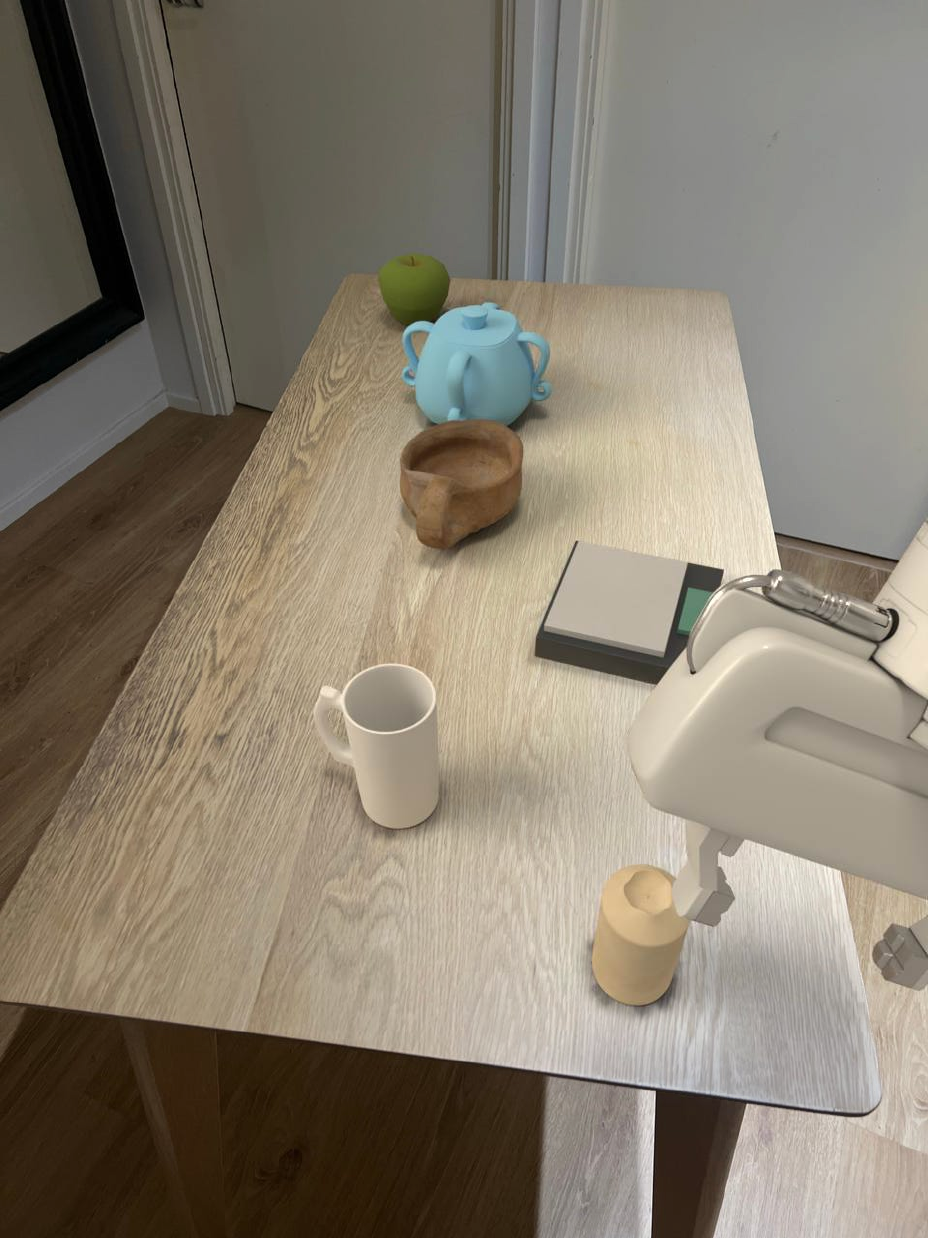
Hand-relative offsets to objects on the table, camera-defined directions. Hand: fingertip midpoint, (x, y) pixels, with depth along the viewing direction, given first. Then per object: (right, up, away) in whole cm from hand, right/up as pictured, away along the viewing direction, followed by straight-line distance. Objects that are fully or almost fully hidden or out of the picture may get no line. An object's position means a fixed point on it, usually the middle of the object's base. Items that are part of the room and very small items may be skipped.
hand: (793, 943), depth 36 cm
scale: (+3, +13, +50) cm, 52 cm away
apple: (-20, +58, +99) cm, 117 cm away
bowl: (-14, +24, +62) cm, 68 cm away
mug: (-20, -1, +36) cm, 42 cm away
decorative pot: (-12, +40, +80) cm, 90 cm away
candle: (-2, -11, +25) cm, 28 cm away
